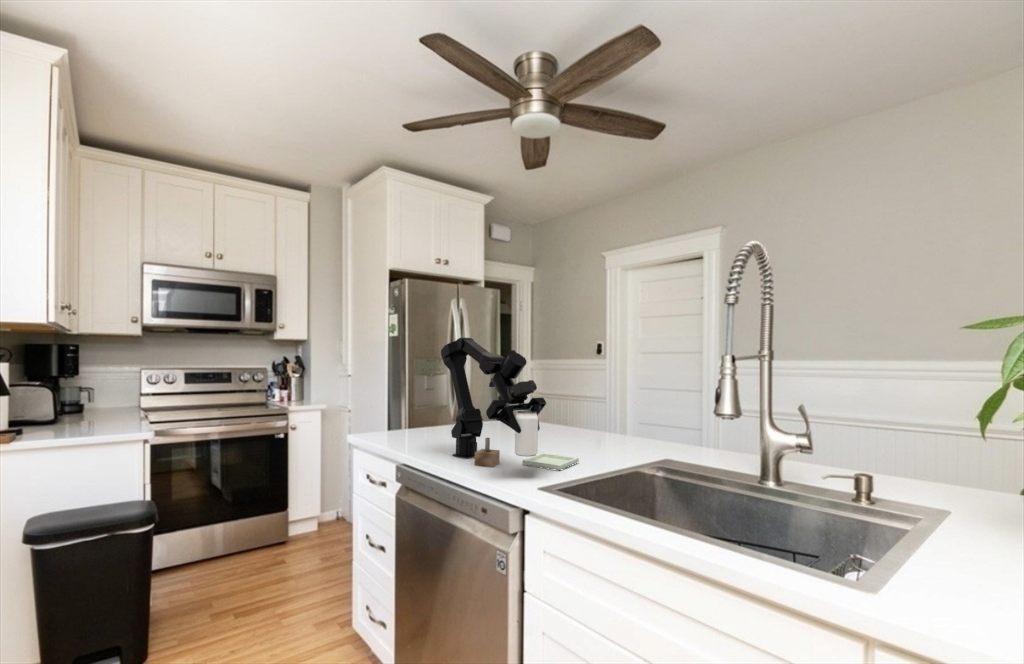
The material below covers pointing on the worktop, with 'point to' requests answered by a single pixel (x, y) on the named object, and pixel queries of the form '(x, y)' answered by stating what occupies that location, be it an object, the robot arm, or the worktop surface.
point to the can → (527, 434)
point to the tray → (550, 461)
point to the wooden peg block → (487, 456)
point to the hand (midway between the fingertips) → (529, 431)
